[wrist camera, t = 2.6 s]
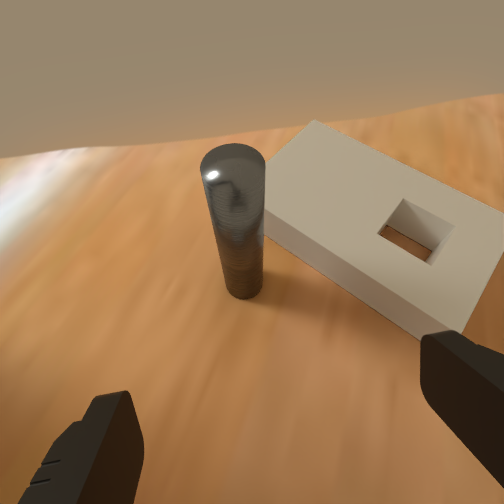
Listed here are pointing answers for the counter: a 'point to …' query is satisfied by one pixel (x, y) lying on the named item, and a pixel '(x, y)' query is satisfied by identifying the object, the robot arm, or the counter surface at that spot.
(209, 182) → the graphite peg
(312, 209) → the peg block
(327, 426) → the counter surface
